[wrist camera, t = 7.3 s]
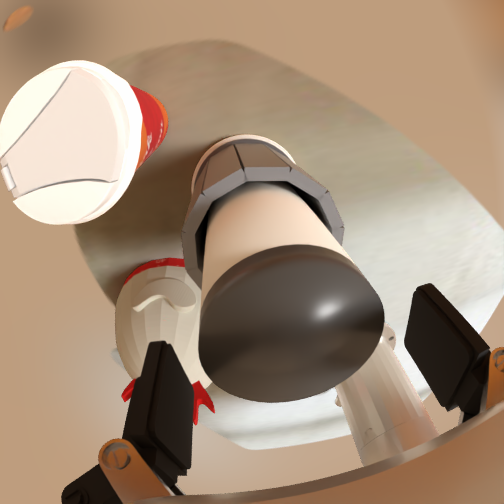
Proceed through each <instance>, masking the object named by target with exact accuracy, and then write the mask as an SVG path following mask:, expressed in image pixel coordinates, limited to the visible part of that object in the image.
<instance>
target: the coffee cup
mask: <svg viewBox="0 0 504 504" xmlns="http://www.w3.org/2000/svg"><path fill="white" fill-rule="evenodd" d="M167 129H168V116H167V112H166V110H165V108H164V106H163V105H162V103H161V102H160V101H159V100H158V99H156V98H155V97H154V96H152V95H150V94H149V93H147V92H144V91H142V90H140V89H138V88H136V87H134V86H131V85H129V84H128V83H127V81H125V80H124V79H122V78H121V77H119V76H118V75H116V74H114V73H113V72H112V71H110V70H109V69H107V68H106V67H104V66H101V65H99V64H96V63H93V62H88V61H68V62H64V63H60V64H58V65H55V66H52V67H50V68H48V69H47V70H45V71H44V72H42V73H40V74H39V75H37V76H35V77H34V78H32V79H31V80H29V81H28V82H27V83H26V84H25V85H24V86H23V87H22V88H21V89H20V90H19V91H18V92H17V93H16V94H15V96H14V97H13V98H12V100H11V101H10V103H9V105H8V106H7V108H6V110H5V113H4V115H3V117H2V120H1V123H0V160H1V161H0V163H1V166H2V169H1V174H2V176H3V179H4V182H5V184H6V187H7V189H8V191H10V190H11V192H12V194H13V197H14V198H15V197H16V198H17V199H16V200H15V201H13V202H14V204H15V205H16V206H17V207H18V208H19V209H20V210H21V211H22V212H24V213H25V214H26V215H28V216H29V217H31V218H33V219H35V220H37V221H40V222H42V223H47V224H51V225H63V224H78V223H84V222H87V221H90V220H93V219H95V218H97V217H98V216H100V215H102V214H104V213H105V212H106V211H107V210H109V209H110V208H111V207H112V206H113V205H114V204H115V203H116V202H117V201H118V200H119V199H120V198H121V196H122V195H123V193H124V192H125V190H126V189H127V187H128V186H129V184H130V181H131V179H132V177H133V175H134V173H135V171H136V170H137V169H138V168H139V167H140V166H141V165H142V164H143V163H144V162H145V161H146V160H147V158H148V157H149V156H150V155H151V154H152V153H153V152H154V151H155V150H156V149H157V148H158V147H159V145H160V144H161V143H162V141H163V139H164V138H165V135H166V133H167Z"/></svg>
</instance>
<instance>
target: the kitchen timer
mask: <svg viewBox="0 0 504 504" xmlns="http://www.w3.org/2000/svg"><path fill="white" fill-rule="evenodd" d="M186 271H187V270H185V263H184V259H178V258H165V259H159V260H153V261H150V262H148V263H146V264H144V265H142V266H140V267H138V268H137V269H136V270H134V271H133V272H132V273H131V274H130V275H129V277H128V278H127V279H126V281H125V283H124V285H123V288H122V290H121V292H120V294H119V297H118V299H117V303H116V312H115V331H116V343H117V348H118V352H119V354H120V357H121V359H122V362H123V364H124V367H125V369H126V371H127V372H128V374H129V375H130V377H131V378H132V379H133V380H132V381H131V383H130V384H129V385H128V386H127V387H126V388H125V390H124V391H123V393H122V398H123V400H124V402H126V401H127V400H128V399H130V398H131V395H132V391H133V387H134V383H135V380H136V378H137V377H140V376H141V372H142V368H143V364H144V360H145V356H146V352H147V348H148V345H149V343H150V342H153V341H162V340H165V341H166V342H167V344H169V343H170V344H171V345H172V346H173V349H174V351H175V353H176V355H177V357H178V359H179V361H180V363H181V365H182V367H183V369H184V371H185V373H186V375H187V376H188V378H189V380H190V382H191V384H192V386H193V389H194V410H193V423H194V424H195V425H197V422H198V408H199V405H200V404H204V405H206V406H207V407H208V408H209V409H210V410H211V411H212V412H213V413H215V410H214V405H213V402H212V400H211V398H210V397H209V395H208V393H207V392H206V390H205V389H206V388H207V387H208V386H209V385H210V384H211V383H212V381H211V380H210V379H209V377H208V376H207V375H206V373H205V372H204V370H203V368H202V366H201V363H200V360H199V354H198V340H199V322H200V306H201V292H202V291H201V289H200V288H199V287H198V286H197V285H196V283H195V282H194V281H193V280H192V279H191V277H190V276H189V275H188V274H187V272H186Z"/></svg>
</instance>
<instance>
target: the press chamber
mask: <svg viewBox="0 0 504 504" xmlns="http://www.w3.org/2000/svg"><path fill="white" fill-rule="evenodd" d="M246 181H287V182H288V183H289V184H290V185H291V187H292V188H293V189H294V190H295V191H296V192H297V194H298V195H299V196H300V197H301V198H302V199H303V201H304V202H305V203H306V204H307V205H308V206H309V208H310V209H311V210H312V211H313V212H314V214H315V215H316V216H317V217H318V218H319V220H320V221H321V222H322V223H323V224H324V226H325V227H326V228H327V229H328V231H329V232H330V233H331V234H332V236H333V237H334V238H335V239H336V240H337V242H338V243H339V244H340V246H341V247H342V241H343V234H344V227H343V226H344V224H343V221H342V219H341V217H340V215H339V212H338V210H337V208H336V206H335V203H334V201H333V199H332V197H331V195H330V192H329V191H328V190H327V189H326V188H325V187H324V186H322V185H321V184H320V183H319V182H317V181H316V180H315V179H314V178H312V177H311V176H310V175H309V174H307V173H306V172H305V171H304V170H302V169H301V168H300V167H298V166H297V165H296V164H295V162H294V160H293V159H292V157H291V156H290V155H289V153H288V152H287V151H286V150H285V149H284V148H283V147H281V146H280V145H278V144H277V143H276V142H274V141H272V140H270V139H268V138H265V137H262V136H258V135H251V134H242V135H235V136H231V137H228V138H225V139H223V140H221V141H219V142H217V143H216V144H215V145H213V146H212V147H211V148H210V149H208V150H207V151H206V152H205V154H204V155H203V156H202V157H201V159H200V161H199V162H198V164H197V166H196V169H195V171H194V174H193V178H192V185H191V193H192V198H191V201H190V204H189V207H188V211H187V214H186V217H185V221H184V224H183V227H182V232H181V237H182V246H183V255H184V263H185V270H187V271H186V272H187V274H188V275H189V276H190V277H191V279H192V280H193V281H194V282H195V283H196V285H197V286H198V287H199V288H200V289H201V291H202V278H203V266H204V254H205V243H206V233H207V223H208V213H209V207H210V205H211V203H212V202H213V201H214V200H216V199H218V198H219V197H221V196H223V195H224V194H226V193H228V192H229V191H231V190H233V189H234V188H236V187H238V186H240V185H241V184H243V183H245V182H246Z"/></svg>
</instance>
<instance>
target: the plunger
mask: <svg viewBox="0 0 504 504" xmlns="http://www.w3.org/2000/svg"><path fill="white" fill-rule="evenodd" d="M383 328H384V309H383V305H382V302H381V300H380V298H379V296H378V294H377V293H376V292H375V290H374V289H373V287H372V286H371V285H370V283H369V282H368V281H367V279H366V278H365V277H364V275H363V274H362V273H361V271H360V270H359V269H358V267H357V266H356V265H355V263H354V262H353V261H352V260H351V258H350V257H349V256H348V254H347V253H346V252H345V251H344V249H343V248H342V247H341V246H340V244H339V243H338V242H337V240H336V239H335V238H334V237H333V236H332V234H331V233H330V232H329V231H328V229H327V228H326V227H325V226H324V224H323V223H322V222H321V221H320V220H319V218H318V217H317V216H316V215H315V214H314V212H313V211H312V210H311V209H310V208H309V206H308V205H307V204H306V203H305V202H304V201H303V199H302V198H301V197H300V196H299V195H298V194H297V192H296V191H295V190H294V189H293V188H292V187H291V185H290V184H289V183H288V182H287V181H246V182H245V183H243V184H241V185H240V186H238V187H236V188H234V189H233V190H231V191H229V192H228V193H226V194H224V195H223V196H221V197H219V198H218V199H216V200H214V201H213V202H212V203H211V205H210V207H209V213H208V223H207V233H206V243H205V254H204V266H203V278H202V292H201V306H200V322H199V340H198V354H199V360H200V363H201V366H202V368H203V370H204V372H205V373H206V375H207V376H208V377H209V379H210V380H211V381H212V382H213V383H214V384H215V385H217V386H218V387H219V388H221V389H222V390H224V391H226V392H228V393H230V394H232V395H234V396H237V397H239V398H243V399H246V400H251V401H257V402H267V403H278V402H289V401H295V400H300V399H304V398H308V397H311V396H314V395H317V394H320V393H322V392H325V391H327V390H329V389H331V388H333V387H335V386H337V385H338V384H340V383H342V382H343V381H345V380H346V379H348V378H349V377H350V376H352V375H353V374H354V373H355V372H356V371H358V370H359V369H360V368H361V367H362V366H363V365H364V364H365V363H366V362H367V360H368V359H369V358H370V356H371V355H372V354H373V352H374V350H375V349H376V347H377V345H378V343H379V341H380V339H381V336H382V332H383Z"/></svg>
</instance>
